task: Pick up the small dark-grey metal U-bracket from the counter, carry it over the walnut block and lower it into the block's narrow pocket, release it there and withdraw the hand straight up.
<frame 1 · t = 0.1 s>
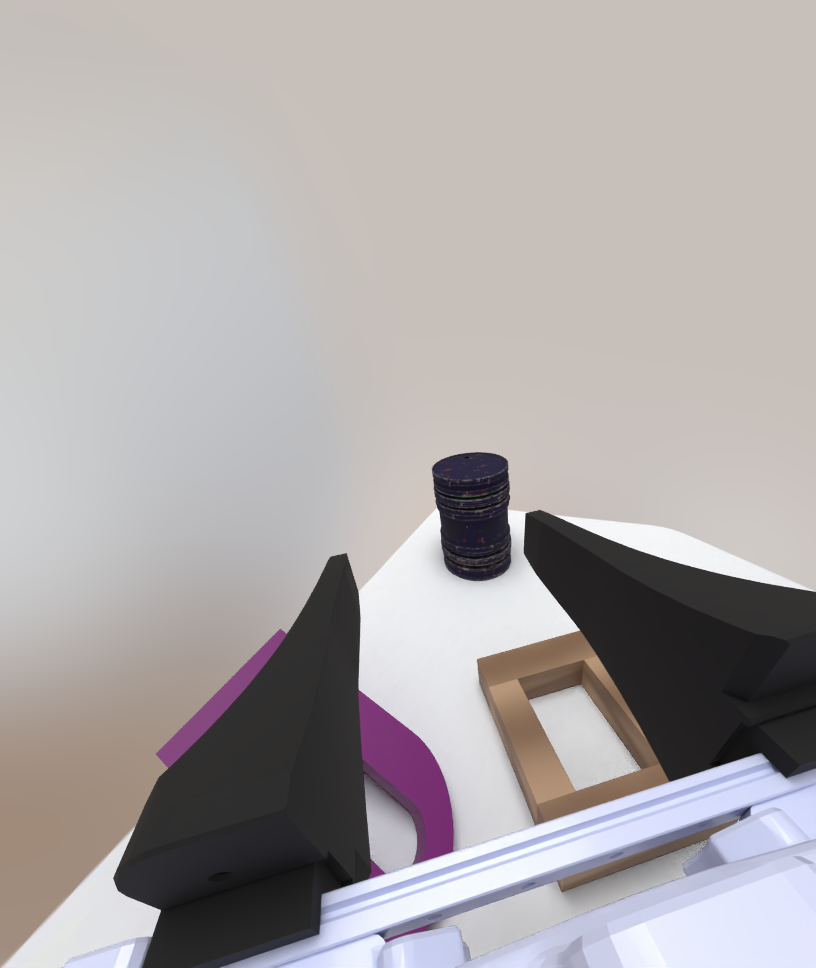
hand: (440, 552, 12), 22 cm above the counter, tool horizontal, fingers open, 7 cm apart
well block: (577, 739, 22), on the counter
dark blue ribbed cylinder: (476, 559, 44), on the counter
mounting bracket: (334, 800, 22), on the counter
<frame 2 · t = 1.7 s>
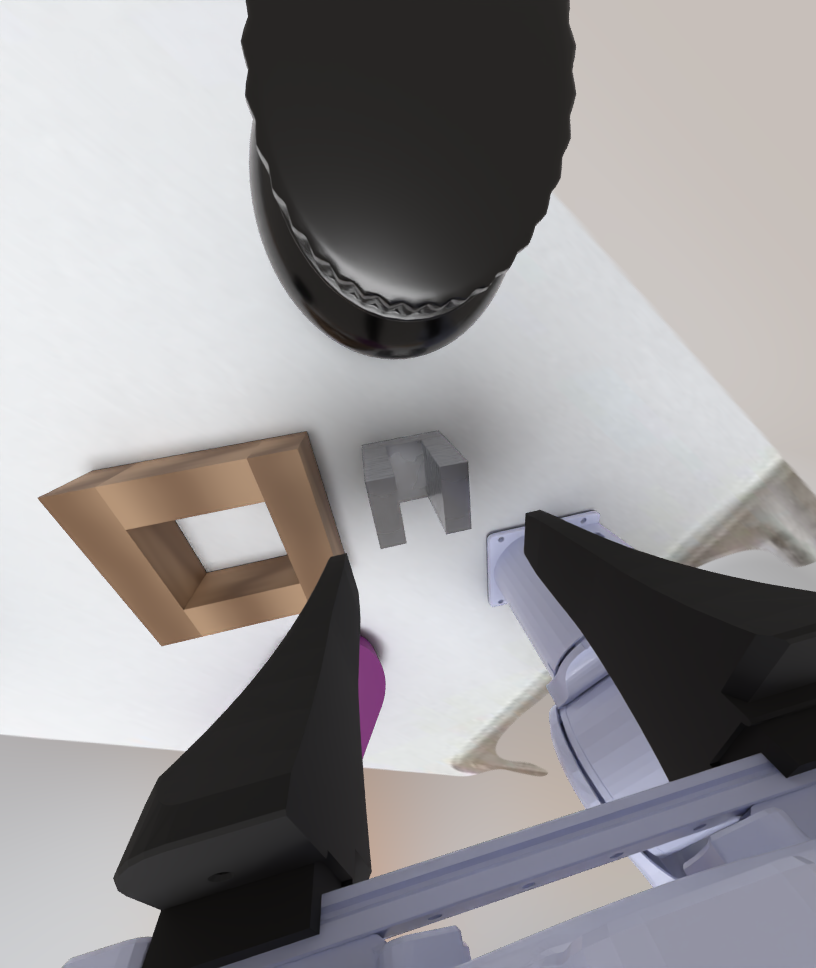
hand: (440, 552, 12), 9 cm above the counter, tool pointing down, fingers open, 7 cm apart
supplement bottle: (374, 278, 15), on the counter
well block: (240, 527, 19), on the counter
bracket: (404, 465, 20), on the counter
mounting bracket: (311, 685, 28), on the counter
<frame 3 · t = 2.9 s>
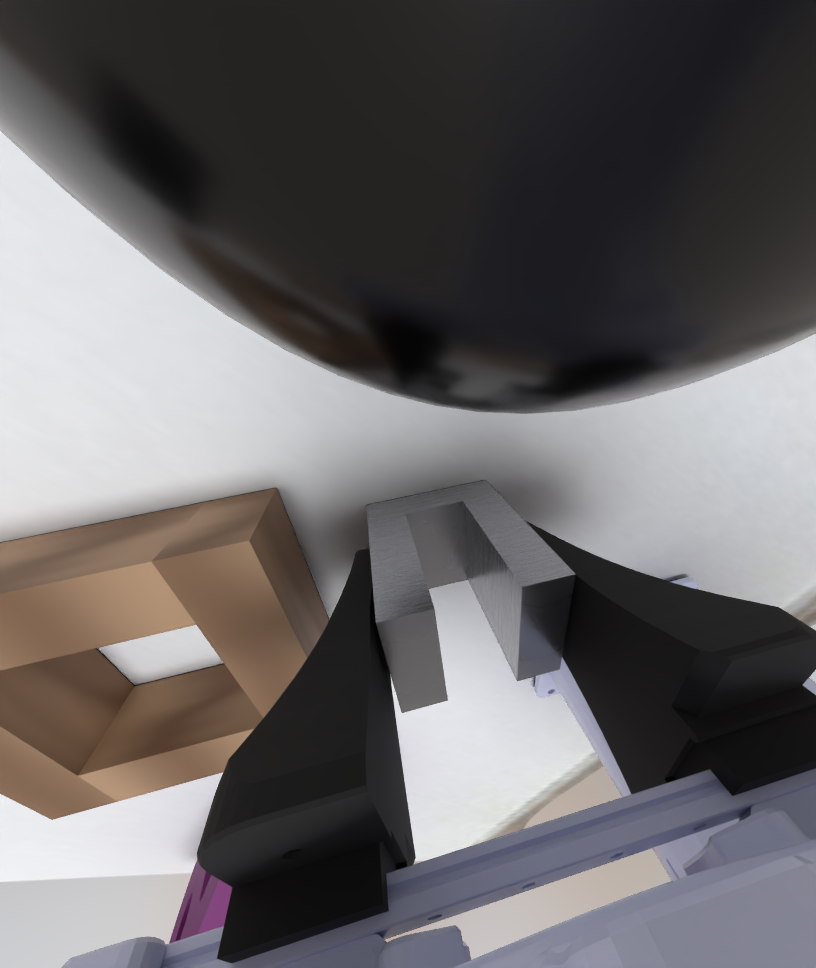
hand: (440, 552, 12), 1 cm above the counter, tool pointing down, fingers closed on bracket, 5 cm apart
supplement bottle: (391, 225, 8), on the counter
well block: (180, 626, 13), on the counter
bracket: (432, 531, 13), on the counter, touching gripper
mounting bracket: (299, 791, 22), on the counter
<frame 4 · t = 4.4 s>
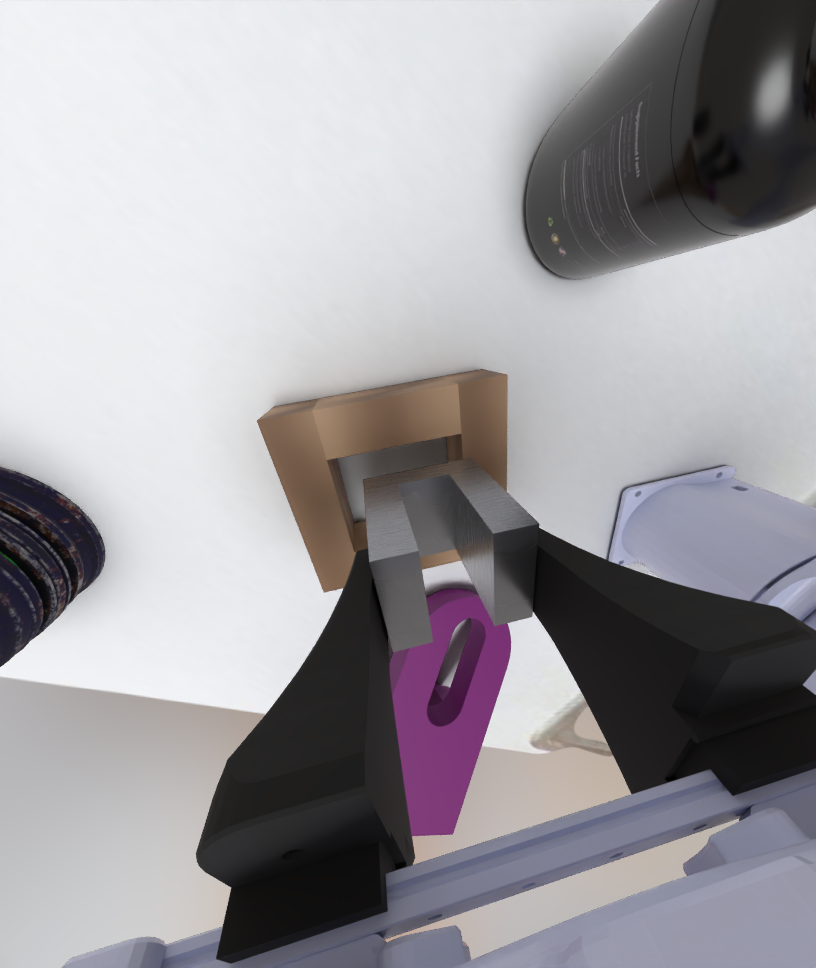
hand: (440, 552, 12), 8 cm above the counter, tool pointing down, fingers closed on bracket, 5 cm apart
supplement bottle: (581, 200, 15), on the counter
well block: (396, 474, 19), on the counter
bracket: (423, 506, 14), point 5 cm above the counter, touching gripper
dark blue ribbed cylinder: (6, 536, 17), on the counter
mounting bracket: (420, 649, 28), on the counter
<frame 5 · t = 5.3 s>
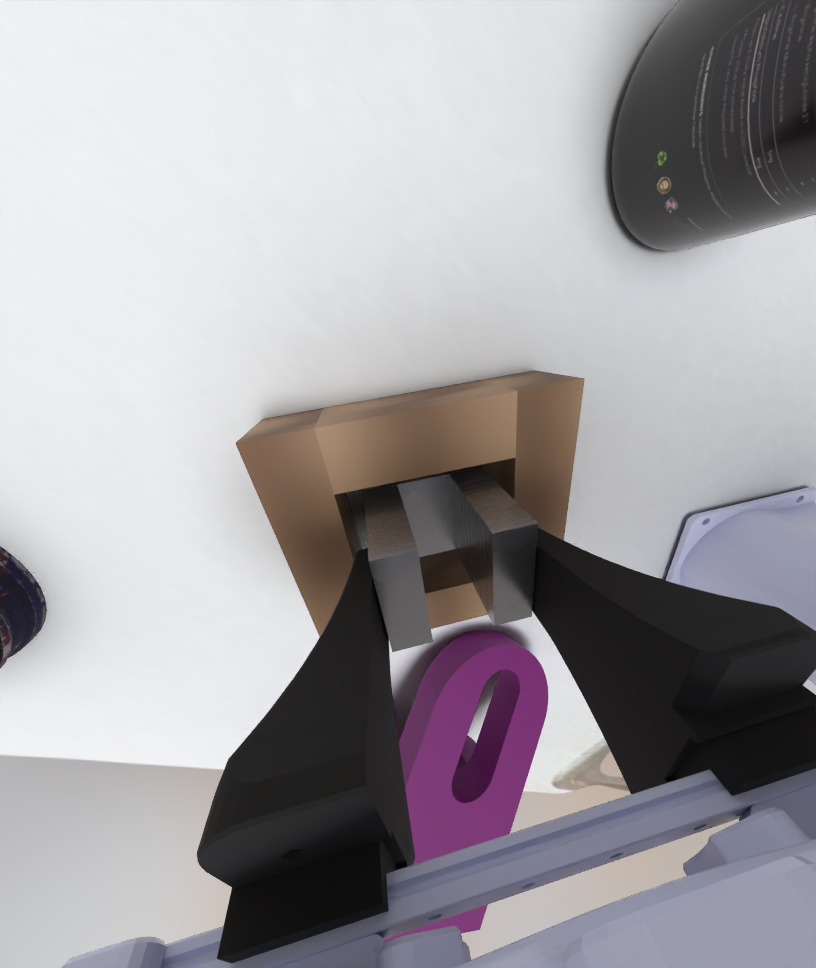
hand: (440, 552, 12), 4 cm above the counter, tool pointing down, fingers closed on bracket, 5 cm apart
supplement bottle: (683, 141, 11), on the counter
well block: (419, 502, 15), on the counter
bracket: (422, 505, 14), point 1 cm above the counter, touching gripper
mounting bracket: (436, 695, 24), on the counter
when the fingers open (4 cm above the counter, at t = 5.8 s): bracket drops 1 cm, resting in well block.
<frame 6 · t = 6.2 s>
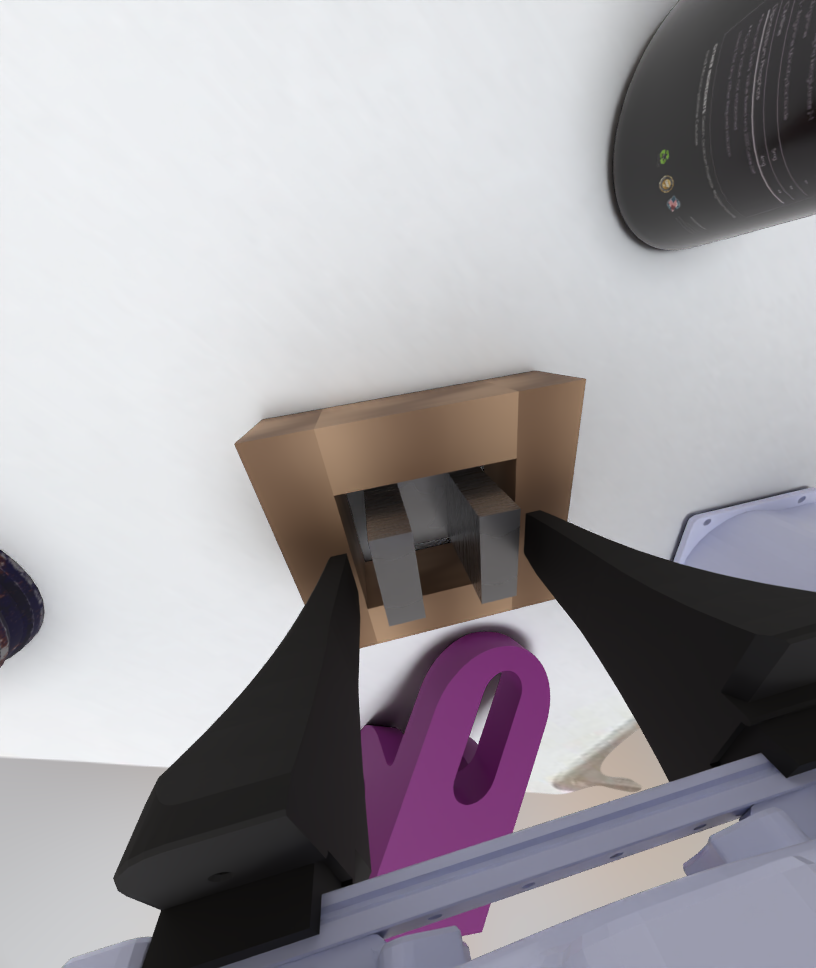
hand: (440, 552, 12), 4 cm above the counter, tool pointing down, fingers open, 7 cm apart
supplement bottle: (686, 140, 11), on the counter
well block: (420, 502, 15), on the counter
bracket: (418, 496, 15), resting in well block
mounting bracket: (438, 696, 24), on the counter
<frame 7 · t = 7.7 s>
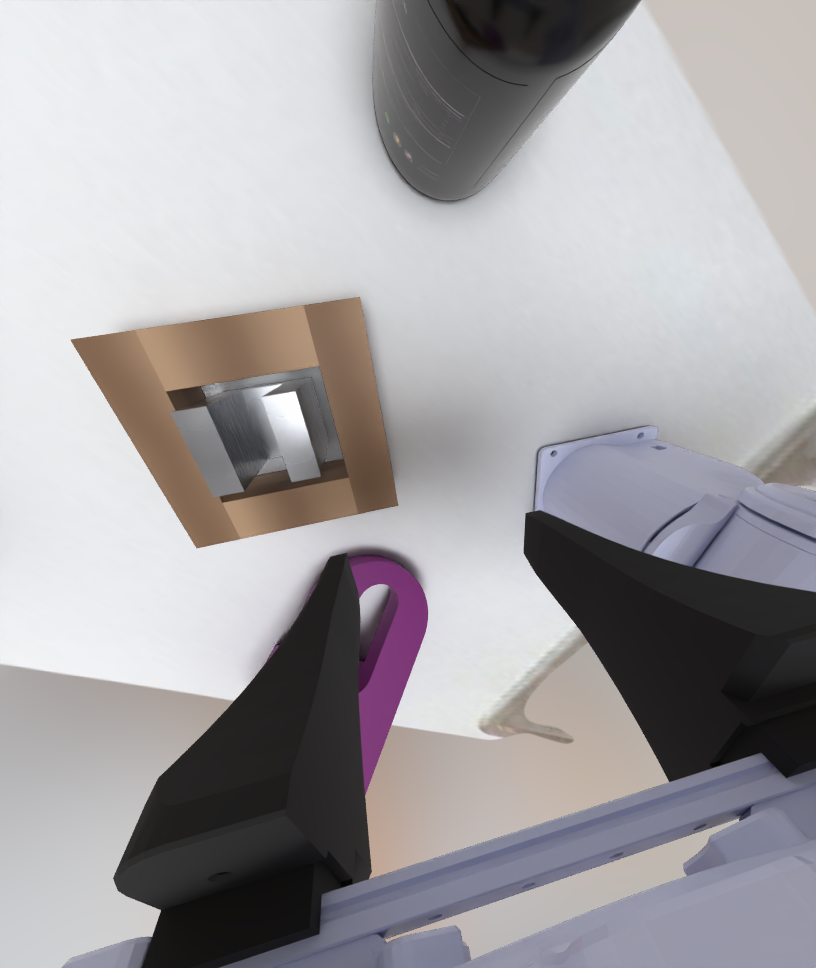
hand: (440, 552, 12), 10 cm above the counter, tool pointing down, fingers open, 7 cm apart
supplement bottle: (444, 109, 13), on the counter
well block: (281, 423, 18), on the counter
bracket: (279, 418, 18), resting in well block
mounting bracket: (343, 623, 27), on the counter
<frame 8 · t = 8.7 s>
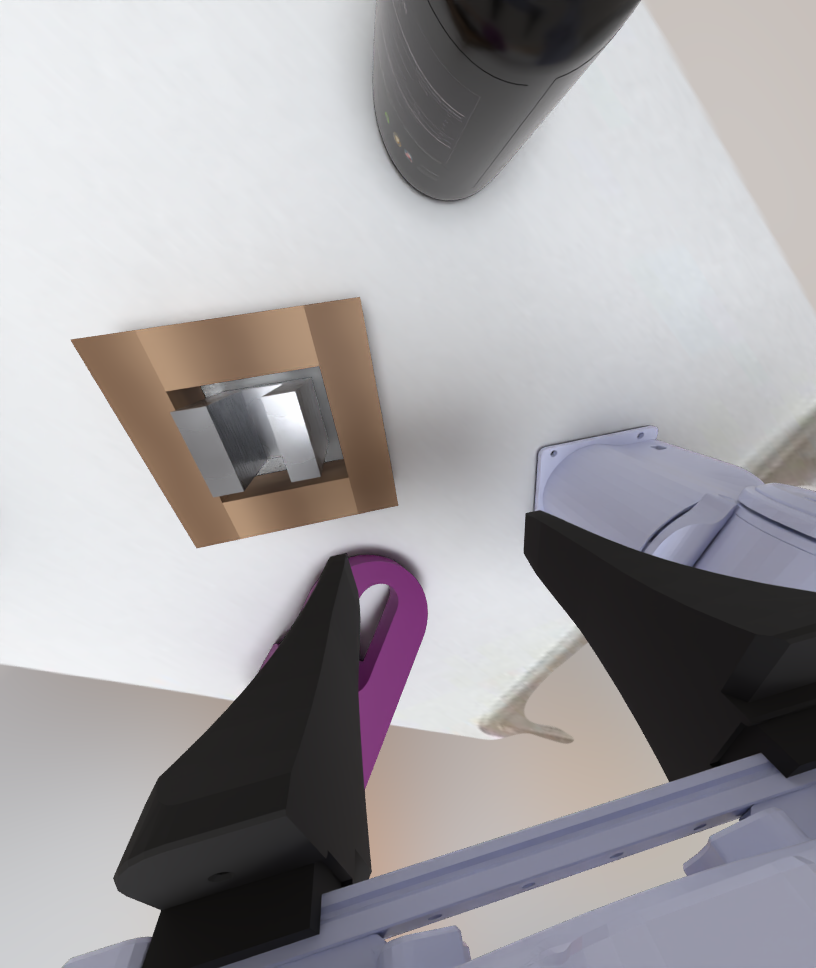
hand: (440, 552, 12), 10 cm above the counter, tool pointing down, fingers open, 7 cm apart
supplement bottle: (444, 109, 13), on the counter
well block: (281, 423, 18), on the counter
bracket: (279, 418, 18), resting in well block
mounting bracket: (342, 622, 27), on the counter
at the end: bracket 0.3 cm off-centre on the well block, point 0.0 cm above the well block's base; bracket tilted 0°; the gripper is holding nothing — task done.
